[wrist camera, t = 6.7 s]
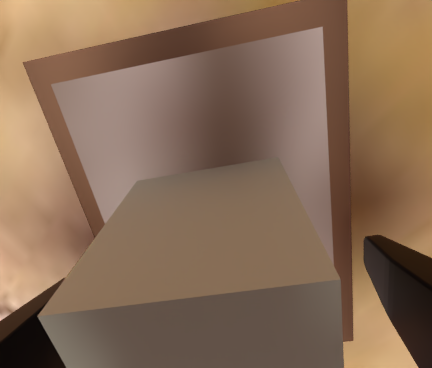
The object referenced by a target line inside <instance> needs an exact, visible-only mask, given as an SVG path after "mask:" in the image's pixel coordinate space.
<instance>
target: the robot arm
mask: <svg viewBox="0 0 432 368" xmlns="http://www.w3.org/2000/svg"><path fill="white" fill-rule="evenodd" d="M364 264H365V267H366V270H367V272H368V274H369V276H370V278H371V281H372V283H373V285H374V287H375V289H376V292H377V294H378V296H379V298H380V300H381V303H382V305H383V307H384V309H385V311H386V313H387V315H388V317H389V319H390V320H391V322H392V324H393V326H394V327H395V329H396V331H397V332H398V334H399V336H400V337H401V339H402V341H403V342H404V344H405V346H406V347H407V349H408V351H409V352H410V354H411V356H412V357H413V359H414V361H415V362H416V364H417V366H418V367H419V368H432V258H430V257H428V256H426V255H424V254H421V253H419V252H417V251H415V250H413V249H410V248H408V247H406V246H404V245H401V244H399V243H397V242H395V241H393V240H390V239H388V238H386V237H384V236H381V235H373V236H366V237H365V238H364ZM64 279H65V278H63V279H62V280H60V281H59V282H57V283H56V284H54V285H53V286H51V287H50V288H48V289H47V290H46V291H44V292H43V293H41V294H40V295H38V296H37V297H35V298H34V299H32V300H31V301H29V302H28V303H26V304H25V305H23V306H22V307H20V308H19V309H17V310H16V311H15V312H13V313H12V314H10V315H9V316H7V317H6V318H4V319H3V320H1V321H0V368H66V366H65V364H64V362H63V361H62V359H61V357H60V355H59V354H58V352H57V350H56V348H55V347H54V345H53V343H52V341H51V340H50V338H49V336H48V334H47V332H46V331H45V329H44V327H43V325H42V324H41V322H40V320H39V318H38V317H37V316H38V315H39V313H40V312H41V311H42V309H43V308H44V307H45V305H46V304H47V303H48V301H49V300H50V299H51V297H52V296H53V294H54V293H55V292H56V290H57V289H58V288H59V286H60V285H61V284H62V282H63V281H64Z"/></svg>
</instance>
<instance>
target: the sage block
mask: <svg viewBox="0 0 432 368" xmlns="http://www.w3.org/2000/svg"><path fill="white" fill-rule="evenodd" d="M37 317H38V318H39V320H40V322H41V324H42V325H43V327H44V329H45V331H46V332H47V334H48V336H49V338H50V340H51V341H52V343H53V345H54V347H55V348H56V350H57V352H58V354H59V355H60V357H61V359H62V361H63V362H64V364H65V366H66V368H344V359H343V331H342V303H341V279H340V277H339V275H338V273H337V271H336V269H335V267H334V265H333V263H332V261H331V259H330V258H329V256H328V254H327V252H326V250H325V248H324V246H323V244H322V242H321V240H320V238H319V236H318V234H317V232H316V230H315V228H314V226H313V224H312V222H311V220H310V218H309V217H308V215H307V213H306V211H305V209H304V207H303V205H302V203H301V201H300V199H299V197H298V195H297V193H296V191H295V189H294V187H293V185H292V183H291V181H290V179H289V177H288V175H287V174H286V172H285V170H284V168H283V166H282V164H281V162H280V160H279V158H278V157H275V158H269V159H264V160H258V161H252V162H246V163H240V164H234V165H228V166H222V167H216V168H210V169H204V170H198V171H192V172H186V173H180V174H174V175H169V176H163V177H157V178H151V179H145V180H139V181H136V183H135V184H134V186H133V187H132V188H131V190H130V191H129V192H128V194H127V195H126V196H125V198H124V199H123V201H122V202H121V203H120V205H119V206H118V207H117V209H116V210H115V211H114V213H113V214H112V216H111V217H110V218H109V220H108V221H107V222H106V224H105V225H104V226H103V228H102V229H101V230H100V232H99V233H98V235H97V236H96V237H95V239H94V240H93V241H92V243H91V244H90V245H89V247H88V248H87V250H86V251H85V252H84V254H83V255H82V256H81V258H80V259H79V260H78V262H77V263H76V264H75V266H74V267H73V269H72V270H71V271H70V273H69V274H68V275H67V277H66V278H65V279H64V281H63V282H62V284H61V285H60V286H59V288H58V289H57V290H56V292H55V293H54V294H53V296H52V297H51V299H50V300H49V301H48V303H47V304H46V305H45V307H44V308H43V309H42V311H41V312H40V313H39V315H38V316H37Z"/></svg>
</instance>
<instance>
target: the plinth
mask: <svg viewBox="0 0 432 368" xmlns="http://www.w3.org/2000/svg"><path fill="white" fill-rule="evenodd" d="M23 64H24V67H25V69H26V72H27V74H28V77H29V79H30V81H31V84H32V86H33V89H34V91H35V94H36V96H37V98H38V101H39V103H40V106H41V108H42V111H43V113H44V115H45V118H46V120H47V123H48V125H49V128H50V130H51V132H52V135H53V137H54V140H55V142H56V145H57V147H58V149H59V152H60V154H61V157H62V159H63V162H64V164H65V167H66V169H67V171H68V174H69V176H70V179H71V181H72V184H73V186H74V188H75V191H76V193H77V196H78V198H79V201H80V203H81V205H82V208H83V210H84V213H85V215H86V218H87V220H88V222H89V225H90V227H91V230H92V232H93V235H94V237H96V236H97V235H98V233H99V232H100V230H101V229H102V228H103V226H104V225H105V224H106V222H107V221H108V220H109V218H110V217H111V216H112V214H113V213H114V211H115V210H116V209H117V207H118V206H119V205H120V203H121V202H122V201H123V199H124V198H125V196H126V195H127V194H128V192H129V191H130V190H131V188H132V187H133V186H134V184H135V183H136V181H139V180H145V179H151V178H157V177H163V176H169V175H174V174H180V173H186V172H192V171H198V170H204V169H210V168H216V167H222V166H228V165H234V164H240V163H246V162H252V161H258V160H264V159H269V158H275V157H278V158H279V160H280V162H281V164H282V166H283V168H284V170H285V172H286V174H287V175H288V177H289V179H290V181H291V183H292V185H293V187H294V189H295V191H296V193H297V195H298V197H299V199H300V201H301V203H302V205H303V207H304V209H305V211H306V213H307V215H308V217H309V218H310V220H311V222H312V224H313V226H314V228H315V230H316V232H317V234H318V236H319V238H320V240H321V242H322V244H323V246H324V248H325V250H326V252H327V254H328V256H329V258H330V259H331V261H332V263H333V265H334V267H335V269H336V271H337V273H338V275H339V277H340V279H341V303H342V331H343V342H346V341H353V298H352V242H351V187H350V131H349V75H348V20H347V0H300V1H295V2H291V3H286V4H282V5H277V6H273V7H268V8H264V9H260V10H255V11H251V12H246V13H242V14H237V15H233V16H228V17H224V18H219V19H215V20H210V21H206V22H201V23H197V24H192V25H188V26H183V27H179V28H174V29H170V30H166V31H161V32H157V33H152V34H148V35H143V36H139V37H134V38H130V39H125V40H121V41H116V42H112V43H107V44H103V45H98V46H94V47H89V48H85V49H80V50H76V51H72V52H67V53H63V54H58V55H54V56H49V57H45V58H40V59H36V60H31V61H27V62H23Z"/></svg>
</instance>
